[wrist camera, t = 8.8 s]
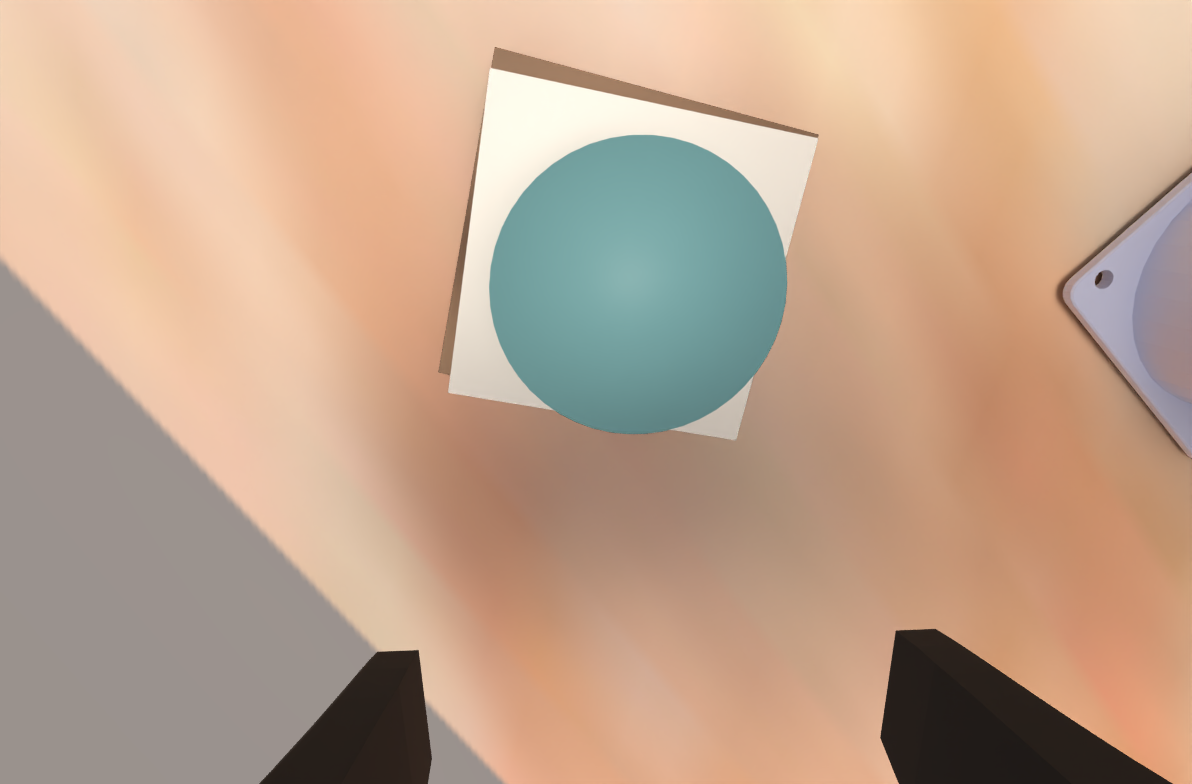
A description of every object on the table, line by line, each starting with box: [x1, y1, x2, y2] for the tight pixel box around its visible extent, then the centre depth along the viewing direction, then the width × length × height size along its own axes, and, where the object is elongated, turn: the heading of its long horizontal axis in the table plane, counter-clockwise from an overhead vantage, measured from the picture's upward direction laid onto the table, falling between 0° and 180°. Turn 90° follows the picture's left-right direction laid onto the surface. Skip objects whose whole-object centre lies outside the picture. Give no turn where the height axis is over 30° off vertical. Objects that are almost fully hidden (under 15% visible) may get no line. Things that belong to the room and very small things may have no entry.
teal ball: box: [489, 135, 787, 434], centre depth 12 cm, size 5×5×5 cm
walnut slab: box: [439, 47, 818, 375], centre depth 17 cm, size 8×8×2 cm
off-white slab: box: [448, 68, 818, 440], centre depth 15 cm, size 7×7×2 cm
